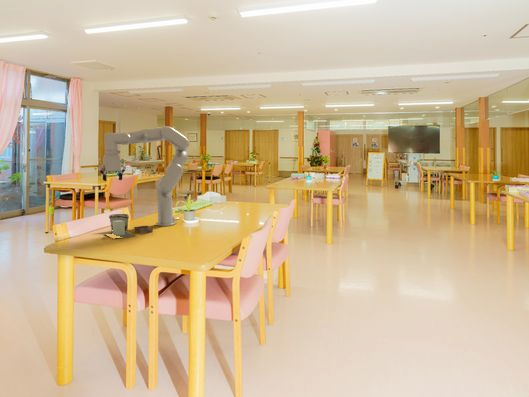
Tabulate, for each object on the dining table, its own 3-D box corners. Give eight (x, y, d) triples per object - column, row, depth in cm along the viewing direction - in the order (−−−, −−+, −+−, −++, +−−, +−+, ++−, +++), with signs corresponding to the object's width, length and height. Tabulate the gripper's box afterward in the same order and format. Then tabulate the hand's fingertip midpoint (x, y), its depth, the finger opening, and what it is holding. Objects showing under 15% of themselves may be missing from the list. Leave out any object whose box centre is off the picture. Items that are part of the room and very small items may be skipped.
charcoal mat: (123, 232, 236) (123, 231, 236) (134, 236, 225) (134, 235, 225) (103, 234, 228) (103, 234, 228) (114, 239, 217) (114, 238, 217)
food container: (133, 229, 244) (132, 213, 242) (128, 231, 238) (128, 215, 236) (114, 229, 245) (113, 213, 244) (109, 231, 239) (108, 215, 238)
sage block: (121, 233, 230) (120, 220, 229) (125, 234, 226) (124, 221, 226) (112, 234, 227) (112, 221, 226) (116, 235, 223) (115, 222, 222)
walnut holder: (146, 230, 242) (146, 225, 242) (152, 232, 236) (152, 227, 236) (134, 231, 237) (134, 227, 237) (140, 233, 231) (139, 228, 231)
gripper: (122, 153, 251) (123, 179, 253) (95, 153, 240) (96, 180, 242) (127, 153, 246) (128, 180, 248) (99, 153, 234) (100, 181, 236)
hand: (112, 180), depth 245 cm, fingers open, 9 cm apart
